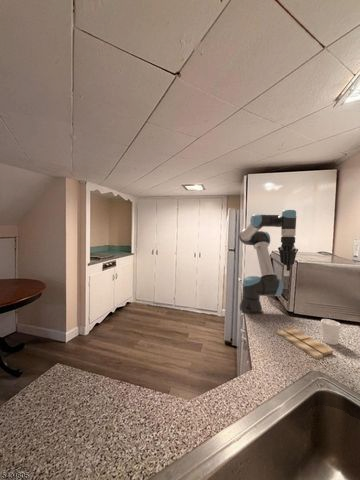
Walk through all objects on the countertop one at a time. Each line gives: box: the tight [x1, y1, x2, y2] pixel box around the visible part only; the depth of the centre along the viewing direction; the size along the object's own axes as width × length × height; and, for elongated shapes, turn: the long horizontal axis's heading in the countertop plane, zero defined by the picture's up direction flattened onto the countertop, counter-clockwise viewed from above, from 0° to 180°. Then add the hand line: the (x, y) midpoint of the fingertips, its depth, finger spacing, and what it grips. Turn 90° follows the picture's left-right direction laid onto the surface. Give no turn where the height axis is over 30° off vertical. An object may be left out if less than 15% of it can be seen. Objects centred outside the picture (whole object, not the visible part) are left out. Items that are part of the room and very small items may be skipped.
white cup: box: [320, 318, 341, 346], centre depth 103 cm, size 8×8×10 cm
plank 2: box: [302, 337, 335, 356], centre depth 97 cm, size 11×6×1 cm, turn 16°
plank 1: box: [283, 326, 311, 342], centre depth 108 cm, size 11×6×1 cm, turn 16°
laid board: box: [274, 329, 324, 359], centre depth 101 cm, size 24×4×1 cm, turn 16°
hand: (286, 275), depth 121 cm, fingers closed
